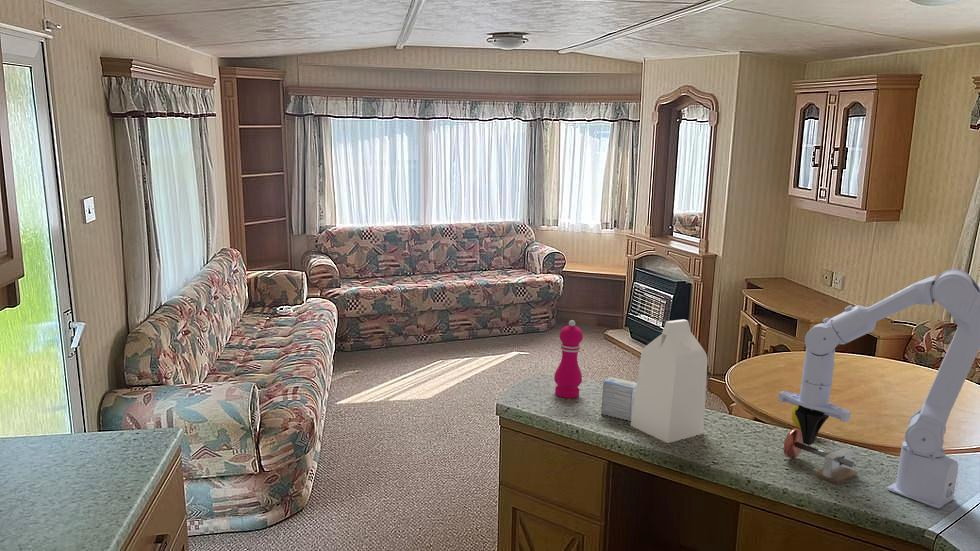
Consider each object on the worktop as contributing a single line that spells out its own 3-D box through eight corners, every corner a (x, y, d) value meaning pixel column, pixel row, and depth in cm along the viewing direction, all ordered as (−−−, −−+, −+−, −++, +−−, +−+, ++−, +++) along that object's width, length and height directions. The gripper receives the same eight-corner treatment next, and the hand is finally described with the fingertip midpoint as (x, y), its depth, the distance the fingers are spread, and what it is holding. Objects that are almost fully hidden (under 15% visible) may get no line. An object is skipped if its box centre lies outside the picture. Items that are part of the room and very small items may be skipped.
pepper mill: (552, 397, 188) (557, 322, 184) (554, 388, 195) (559, 316, 191) (580, 400, 186) (585, 324, 183) (581, 391, 193) (586, 318, 190)
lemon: (817, 436, 170) (821, 403, 168) (792, 433, 171) (796, 401, 169) (811, 428, 175) (815, 396, 174) (787, 425, 176) (791, 393, 175)
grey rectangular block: (637, 417, 177) (640, 383, 175) (630, 422, 173) (633, 387, 171) (607, 409, 181) (610, 376, 179) (600, 414, 177) (602, 380, 175)
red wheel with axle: (858, 475, 148) (862, 446, 147) (843, 483, 144) (847, 453, 143) (792, 451, 159) (796, 423, 158) (776, 458, 155) (780, 429, 154)
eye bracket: (857, 475, 149) (860, 452, 149) (838, 485, 144) (841, 461, 144) (833, 466, 153) (836, 444, 152) (813, 475, 148) (816, 452, 147)
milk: (665, 417, 177) (675, 313, 173) (703, 433, 168) (714, 324, 164) (630, 425, 171) (639, 317, 166) (667, 443, 161) (678, 329, 157)
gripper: (861, 388, 148) (851, 451, 150) (793, 369, 159) (786, 428, 161) (844, 393, 143) (835, 458, 145) (776, 374, 154) (768, 434, 157)
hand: (808, 443), depth 153 cm, fingers closed
